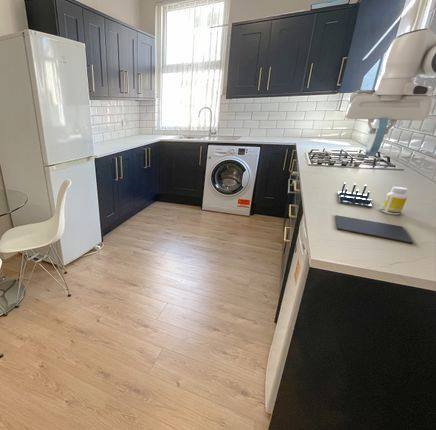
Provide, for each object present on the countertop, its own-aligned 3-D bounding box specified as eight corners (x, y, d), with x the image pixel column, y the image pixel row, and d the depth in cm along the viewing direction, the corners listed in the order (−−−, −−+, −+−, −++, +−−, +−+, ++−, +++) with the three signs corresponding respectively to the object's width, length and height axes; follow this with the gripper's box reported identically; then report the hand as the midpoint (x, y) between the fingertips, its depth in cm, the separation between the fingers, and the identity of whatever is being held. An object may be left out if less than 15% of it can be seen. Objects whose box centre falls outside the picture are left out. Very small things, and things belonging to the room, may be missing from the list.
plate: (371, 154, 102) (384, 116, 97) (376, 159, 92) (390, 117, 87) (363, 153, 103) (376, 116, 98) (368, 158, 93) (382, 117, 89)
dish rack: (365, 197, 124) (370, 184, 121) (370, 208, 111) (376, 193, 109) (337, 193, 129) (341, 181, 127) (339, 203, 117) (343, 189, 114)
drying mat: (401, 228, 94) (402, 226, 94) (411, 244, 83) (412, 242, 83) (335, 216, 103) (335, 215, 103) (336, 229, 93) (337, 228, 92)
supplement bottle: (404, 214, 105) (414, 189, 101) (392, 215, 104) (402, 190, 100) (388, 209, 110) (398, 185, 106) (377, 210, 109) (386, 186, 105)
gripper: (352, 89, 93) (339, 132, 98) (440, 88, 82) (421, 136, 87) (351, 90, 98) (339, 131, 103) (434, 89, 87) (416, 134, 92)
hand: (377, 133), depth 95 cm, fingers closed on plate, 2 cm apart
